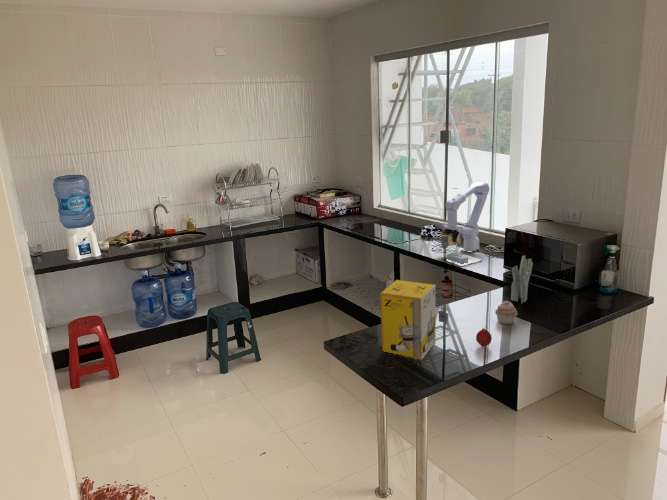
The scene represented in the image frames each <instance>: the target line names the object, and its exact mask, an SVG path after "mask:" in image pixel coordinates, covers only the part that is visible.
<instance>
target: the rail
mask: <svg viewBox="0 0 667 500" xmlns="http://www.w3.org/2000/svg"><path fill="white" fill-rule="evenodd" d="M440 237H441V243H440V244H441V246H443V247H445V248H446V247H449V246H454V245H455V246H456V245H459V244H462V243H463V235H462V233H461V232H460V233H459V235H458V237H457V240H456V242H453V238H452V234H448V235H446V234H445V235H441V236H440Z"/></svg>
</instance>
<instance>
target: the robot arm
mask: <svg viewBox="0 0 667 500" xmlns="http://www.w3.org/2000/svg"><path fill="white" fill-rule="evenodd" d="M490 189H491V188H490V185H489V184H488V183H487V182H480V181H479V182H477V181H473V182H472V183H471V184H470V187H467V189H466V190H465V191H464V192H463V193H457V195H456V196H455V197H453V198H452V199H451V200H450V199H449V200H447V201H446V203H445V209H446V212H447V214H446V215H447V216H446V217H447V219H446V220H447V221H446V223H447V224H442V228H443V229H444V230H443V232H445V235H448V234H452V238H453V242H456V240H457V237H458V235H459V233H462V238H463V249H464V250H465V251H474V250H477V249H480V238H479V237H478V236H479V230H480V226H479V225H478V222H479V220H480V217H481V216H482V215H481V214H482V212H483V209H484V207H485V203H486V202H487V201H486V200H487V197H488V195H489V193H490ZM473 194H474V195H475V196H476V200H475V202H474V205H473V208H472V211H471V213H470V217H469V219H468V221H466V222H465V223H464V225H463V227H461V228H460V227H459V226H458V210H459V208H460V206H461V205H462V204H464V202H466V201H467V198H469V196H472V195H473Z"/></svg>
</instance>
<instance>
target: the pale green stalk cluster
mask: <svg viewBox="0 0 667 500" xmlns="http://www.w3.org/2000/svg"><path fill="white" fill-rule="evenodd" d="M520 260H521V261H520V265H519V269H518V265H515V266H512V268H511V274H512V278H513V281H512V283H511V287H510V289H511V290H510V291H511V292H510V301H514V302H517V303H518V302H519V299H520V303H521V304H523V303H526V302H527V300H528V288H529V283H530V282H529V281H530V276H531V274H532V270H533V265H534V262H533V259H532V258H526V255H522V256H521V259H520Z"/></svg>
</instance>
